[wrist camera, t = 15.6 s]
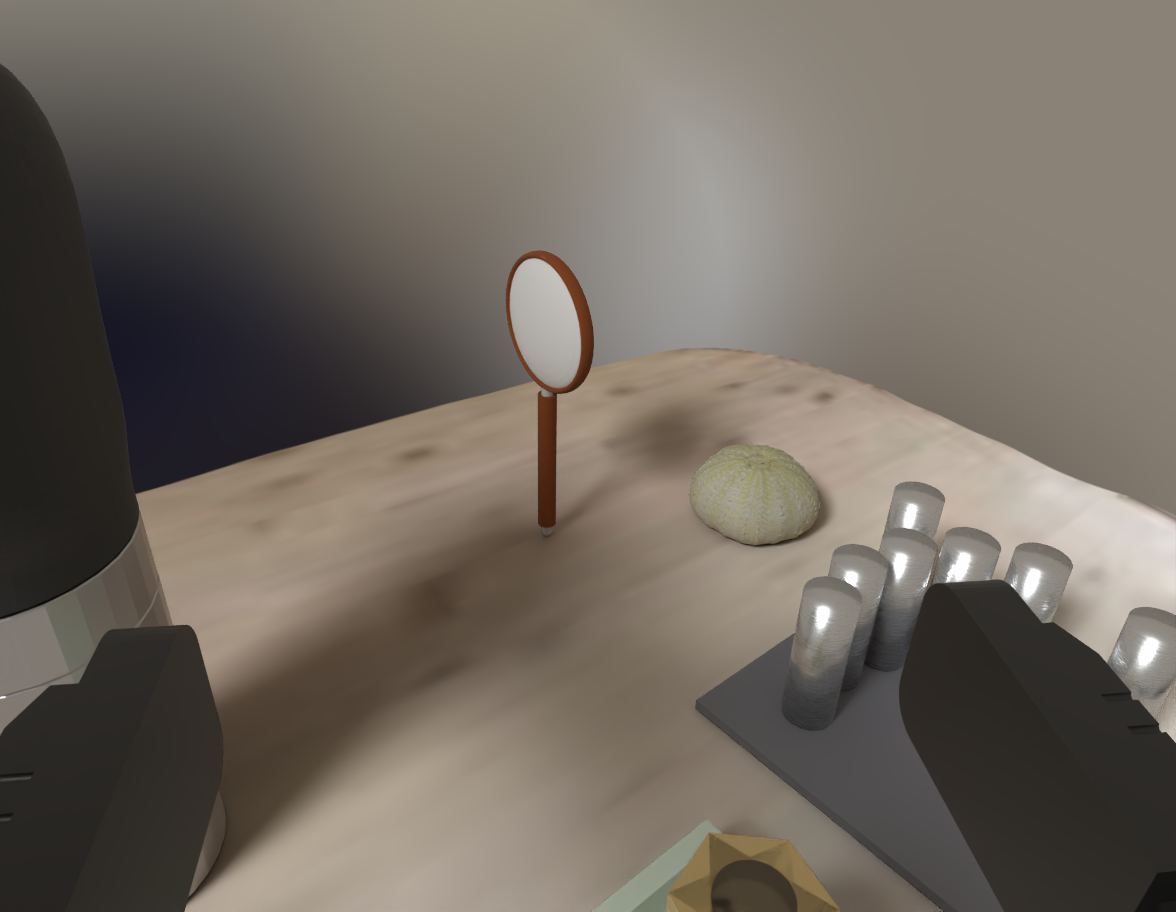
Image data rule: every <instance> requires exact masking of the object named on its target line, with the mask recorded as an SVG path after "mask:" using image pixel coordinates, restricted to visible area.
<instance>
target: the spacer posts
mask: <svg viewBox="0 0 1176 912" xmlns="http://www.w3.org/2000/svg"><path fill="white" fill-rule="evenodd" d="M944 503H945V497H944V495H943V494H942V493H941V492H940V491H939V490H938V489H936V488H934V487H932V486H930V485H927V484H924V483H920V482H903V483H900V484H898V485H897V486H896V487H895V490H894V494H893V498H892V502H891V506H890V510H889V514H888V518H887V522H886V526H885V530H884V534H883V537H882V541H881V545H880V549H879V552H878V551H876V550H874V549H872V548H870V547H867V546H863V545H857V544H848V545H843V546H840V547H838V548H837V549H836V550H835V551H834V552H833V555H832V560H831V565H830V570H829V574H828V577H817V578H813V579H811V580H809V581H808V582H807V583H806V584H805V586H804V590H803V595H802V600H801V605H800V610H799V615H798V620H797V625H796V630H795V635H794V640H793V645H792V651H791V656H790V661H789V666H788V671H787V676H786V681H785V686H784V691H783V696H782V701H781V711H782V713H783V715H784V717H785V718H786V719H787V720H788V721H789V722H790V723H791V724H793V725H794V726H796V727H798V728H800V729H803V730H808V731H819V730H823V729H825V728H827V727H829V726H830V725H831V723H832V722H833V719H834V715H835V711H836V707H837V703H838V699H839V695H840V692H847V691H850V690H853V689H854V688H855V687H856V686H857V685H858V683H859V680H860V676H861V672H862V668H863V664H865V665H866V666H868V667H870V668H872V669H874V670H877V671H882V672H892V671H896V670H899V669H900V668H901V667H903V665H904V663H905V660H906V656H907V653H908V649H909V646H910V642H911V639H912V635H913V632H914V628H915V625H916V622H917V618H918V615H919V611H920V608H921V604H922V601H923V597H924V594H925V590H926V587H927V583H928V580H929V576H930V573H931V570H932V566H933V563H934V559H935V556H936V552H937V545H936V543H935V542H934V538H935V534H936V531H937V527H938V524H939V520H940V517H941V513H942V510H943V506H944ZM1000 552H1001V546H1000V544H999V542H998V541H997V540H996V539H995V538H994V537H992V536H991V535H989V534H987V533H986V532H983V531H981V530H978V529H974V528H969V527H957V528H953V529H951V530H949V531H948V532H947V533H946V535H945V539H944V542H943V546H942V549H941V553H940V556H939V559H938V563H937V566H936V570H935V573H934V577H933V580H932V583H931V586H932V585H934V584H936V583H949V582H966V581H983V580H991V578H992V575H993V572H994V569H995V566H996V563H997V561H998V558H999V555H1000ZM1072 568H1073V565H1072V562H1071V560H1070V559H1069V558H1068V557H1067V556H1066V555H1065V554H1064V553H1062V552H1061V551H1059V550H1057V549H1055V548H1053V547H1051V546H1048V545H1044V544H1040V543H1023V544H1020V545H1018V546H1017V547H1016V548H1015V551H1014V554H1013V557H1012V559H1011V562H1010V565H1009V568H1008V571H1007V574H1006V577H1005V580H1004V581H1005V582H1007V583H1008V584H1009V585H1011V586H1012V587H1013V588H1014V589H1015V590H1016V592H1017V593H1018V594H1019V595H1020V596H1021V598H1022V599H1023V600H1024V601H1025V603H1026V604H1027V605H1028V606H1029V607H1030V609H1031V610H1032V611H1033V612H1034V613H1035V615H1036V616H1037V617H1038V618H1039V620H1040V621H1041V622H1042V623H1051V622H1052V619H1053V617H1054V614H1055V612H1056V609H1057V607H1058V604H1059V602H1060V599H1061V596H1062V594H1063V591H1064V589H1065V586H1066V584H1067V581H1068V579H1069V576H1070V574H1071V571H1072ZM1107 664H1108V665H1109V666H1110V668H1111V669H1112V670H1113V671H1114V672H1115V673H1116V675H1117V676H1118V677H1119V678H1120V679H1121V680H1122V681H1123V683H1124V684H1125V685H1126V686H1127V687H1128V688H1129V690H1130V691H1131V696H1132V699H1133V700H1139V701H1140V702H1141V704H1142V705H1143V706H1144V707H1145V708H1146V709H1147V710H1148V712H1149V713H1150V714H1151V715H1152V716H1153V717H1154V719H1155V718H1156V716H1157V714H1158V712H1159V711H1160V709H1161V707H1162V705H1163V703H1164V701H1165V699H1166V697H1167V695H1168V693H1169V691H1170V689H1171V687H1172V685H1173V683H1174V681H1175V679H1176V615H1174V614H1171V613H1169V612H1167V611H1164V610H1161V609H1157V608H1152V607H1139V608H1135V609H1133V610H1132V611H1131V612H1130V613H1129V615H1128V617H1127V620H1126V622H1125V624H1124V626H1123V629H1122V631H1121V633H1120V635H1119V637H1118V640H1117V642H1116V644H1115V646H1114V649H1113V651H1112V653H1111V655H1110V657H1109V660H1108V662H1107Z"/></svg>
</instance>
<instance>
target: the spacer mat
mask: <svg viewBox="0 0 1176 912" xmlns="http://www.w3.org/2000/svg"><path fill="white" fill-rule="evenodd" d="M921 606H922V604H921ZM920 609H921V608H920ZM919 613H920V611H919ZM918 616H919V615H918ZM917 620H918V618H917ZM916 623H917V622H916ZM915 626H916V625H915ZM914 630H915V628H914ZM913 633H914V632H913ZM794 635H795V633H794V634H793V635H791V636H790V637H788V638H787V639H785V640H784V641H782V642H781V643H779V644H778V645H776V646H775V647H774V648H772V649H771V650H769V651H768V652H766V653H765V654H763V655H762V656H760V657H759V658H758V659H756V660H755V661H753V662H752V663H750V664H749V665H747V666H746V667H744V668H743V669H741V670H740V671H739V672H737V673H736V674H734V675H733V676H731V677H730V678H728V679H727V680H725V681H724V682H723V683H721V684H720V685H718V686H717V687H715V688H714V689H712V690H711V691H709V692H708V693H706V694H705V695H704V696H702V697H701V698H699V699H698V700H696V707H695V708H696V709H697V710H698V711H699V712H700V713H702V714H703V715H704V716H705V717H707V718H708V719H709V720H710V721H712V722H713V723H714V724H715V725H716V726H718V727H719V728H720V729H721V730H723V731H724V732H725V733H726V734H727V735H729V736H730V737H731V738H732V739H734V740H735V741H736V742H737V743H739V744H740V745H741V746H742V747H743V748H745V749H746V750H747V751H748V752H750V753H751V754H752V755H753V756H755V757H756V758H757V759H758V760H759V761H761V762H762V763H763V764H764V765H766V766H767V767H768V768H769V769H770V770H772V771H773V772H774V773H775V774H777V775H778V776H779V777H780V778H782V779H783V780H784V781H785V782H786V783H788V784H789V785H790V786H791V787H793V788H794V789H795V790H796V791H797V792H799V793H800V794H801V795H802V796H804V797H805V798H806V799H807V800H809V801H810V802H811V803H812V804H813V805H815V806H816V807H817V808H818V809H820V810H821V811H822V812H823V813H824V814H826V815H827V816H828V817H829V818H831V819H832V820H833V821H834V822H836V823H837V824H838V825H839V826H840V827H842V828H843V829H844V830H845V831H847V832H848V833H849V834H850V835H851V836H853V837H854V838H855V839H856V840H858V841H859V842H860V843H861V844H863V845H864V846H865V847H866V848H867V849H869V850H870V851H871V852H872V853H874V854H875V855H876V856H877V857H878V858H880V859H881V860H882V861H883V862H885V863H886V864H887V865H888V866H890V867H891V868H892V869H893V870H894V871H896V872H897V873H898V874H899V875H901V876H902V877H903V878H904V879H905V880H907V881H908V882H909V883H910V884H912V885H913V886H914V887H915V888H917V889H918V890H919V891H920V892H921V893H923V894H924V895H925V896H926V897H928V898H929V899H930V900H931V901H932V902H934V903H935V904H936V905H937V906H939V907H940V908H941V909H942V910H944V911H945V912H1004V911H1003V909H1002V907H1001V905H1000V903H999V901H998V900H997V898H996V896H995V894H994V892H993V890H992V889H991V887H990V885H989V883H988V881H987V879H986V878H985V876H984V874H983V872H982V870H981V868H980V866H979V865H978V863H977V861H976V859H975V857H974V855H973V854H972V852H971V850H970V848H969V846H968V844H967V843H966V841H965V839H964V837H963V835H962V833H961V832H960V830H959V828H958V826H957V824H956V822H955V821H954V819H953V817H952V815H951V813H950V811H949V809H948V808H947V806H946V804H945V802H944V800H943V798H942V797H941V795H940V793H939V791H938V789H937V787H936V786H935V784H934V782H933V780H932V778H931V776H930V775H929V773H928V771H927V769H926V767H925V765H924V764H923V762H922V760H921V758H920V756H919V754H918V752H917V751H916V749H915V747H914V745H913V743H912V741H911V740H910V738H909V736H908V734H907V731H906V729H905V726H904V723H903V720H902V715H901V711H900V704H899V684H900V679H901V675H902V671H903V668H904V665H903V667H901V668H900V669H899V670H896V671H892V672H882V671H877V670H874V669H872V668H870V667H868V666H866V665H865V664H863V668H862V672H861V676H860V680H859V683H858V685H857V686H856V687H855V688H854V689H853V690H850V691H847V692H840V695H839V699H838V703H837V707H836V711H835V715H834V719H833V722H832V723H831V725H830V726H829V727H827V728H825V729H823V730H819V731H808V730H803V729H800V728H798V727H796V726H794V725H793V724H791V723H790V722H789V721H788V720H787V719H786V718H785V717H784V715H783V713H782V711H781V701H782V696H783V691H784V686H785V681H786V676H787V671H788V666H789V661H790V656H791V651H792V645H793V640H794ZM912 637H913V635H912ZM911 640H912V639H911ZM910 644H911V642H910ZM909 647H910V646H909ZM908 651H909V649H908ZM907 654H908V653H907ZM906 657H907V656H906ZM905 661H906V660H905ZM904 664H905V663H904Z"/></svg>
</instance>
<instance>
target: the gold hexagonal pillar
mask: <svg viewBox="0 0 1176 912" xmlns="http://www.w3.org/2000/svg"><path fill="white" fill-rule="evenodd" d="M666 912H840V909H839V908H838V906H837V905H836V903H835V902H834V901H833V899H832V898H831V897H830V895H829V894H828V892H827V891H826V890H825V888H824V887H823V886H822V884H821V883H820V881H819V880H818V879H817V877H816V876H815V875H814V873H813V872H812V871H811V869H810V868H809V866H808V865H807V864H806V862H805V861H804V860H803V858H802V857H801V855H800V854H799V853H798V851H797V850H796V849H795V847H794V846H793V845H792V843H791V842H790V840H783V839H773V838H762V837H752V836H742V835H731V834H721V833H711V832H709V833H708V834H707V836H706V837H705V839H704V840H703V842H702V843H701V845H700V846H699V848H698V849H697V850H696V852H695V853H694V855H693V856H692V858H691V859H690V861H689V862H688V864H687V865H686V867H685V868H684V870H683V871H682V873H681V874H680V876H679V877H678V879H677V880H676V882H675V883H674V884H673V886H672V887H671V889H670V890H669V892H668V896H667V905H666Z"/></svg>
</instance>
